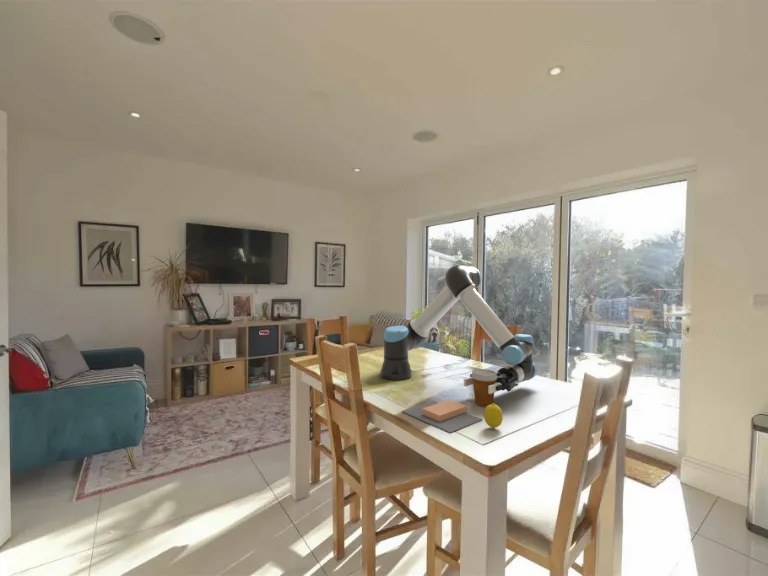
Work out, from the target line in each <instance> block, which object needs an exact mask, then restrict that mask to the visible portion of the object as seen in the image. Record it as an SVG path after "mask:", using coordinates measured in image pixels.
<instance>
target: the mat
mask: <svg viewBox="0 0 768 576" xmlns="http://www.w3.org/2000/svg"><path fill="white" fill-rule="evenodd" d="M438 403H439V402H438V401H435V400H432V401H430V402H425V403H422V404H420V405H416V406H414V407H410V408H407V409H404V410H402V413H404V414H406V415H409V416H411V417H413V418H415V419H418V420H420V421H422V422H424V423H426V424H429V425H431V426H433V427H435V428H437V429H440V430H442V431H444V432H447V433H449V434H452V433H455V432H457V431H460V430H462V429H465V428H467V427H469V426H471V425H474V424H477V423H479V422H481V421H483V418H482V417H479V416H476V415H473V414H470V413H469V412H465V413H462V414H460V415H457V416H454V417H452V418H449V419H446V420H444V421H441V422H439V421H436V420H434V419H432V418H429V417H427V416H425V415H423V414H422V408H425V407H429V406H432V405H435V404H438Z"/></svg>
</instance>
